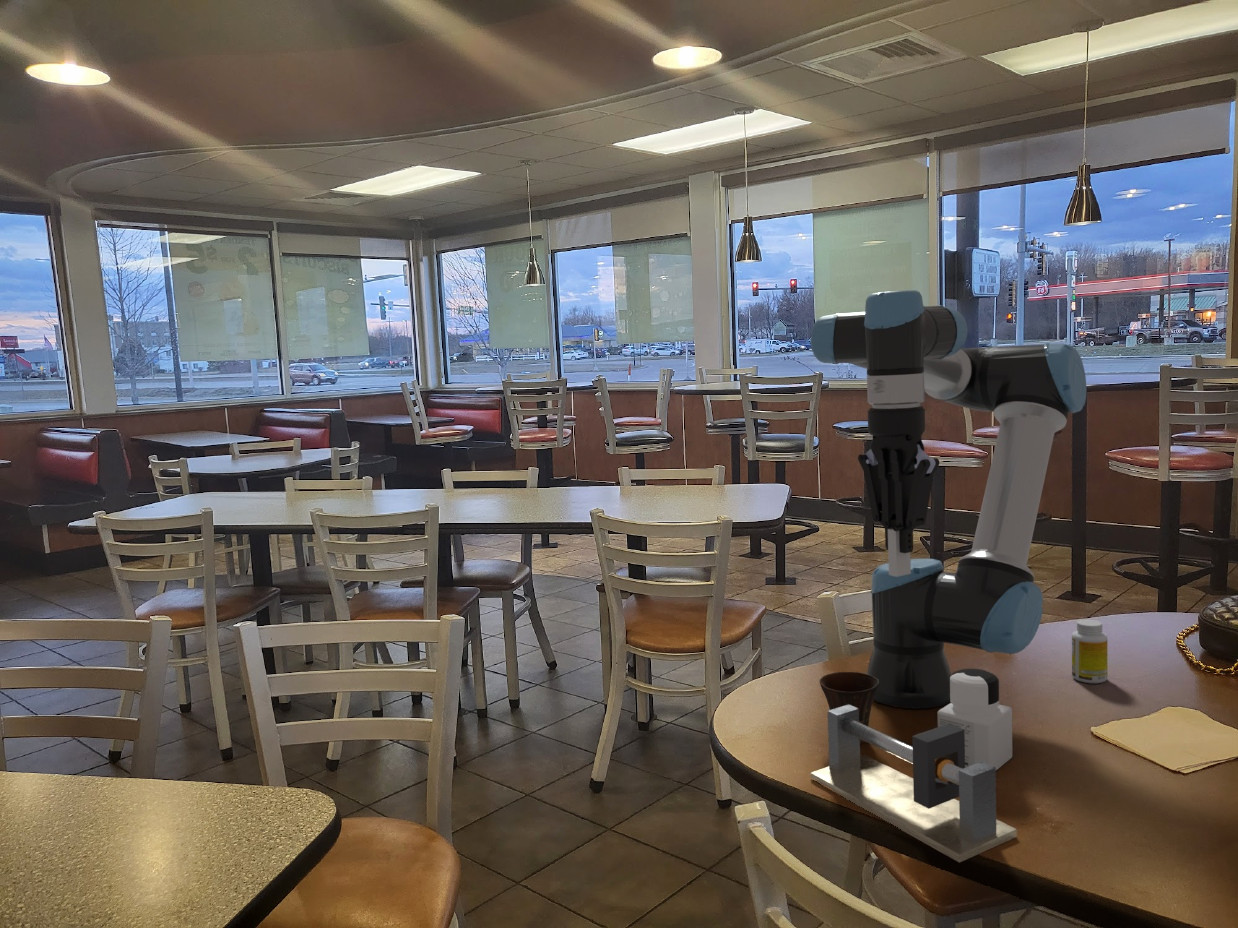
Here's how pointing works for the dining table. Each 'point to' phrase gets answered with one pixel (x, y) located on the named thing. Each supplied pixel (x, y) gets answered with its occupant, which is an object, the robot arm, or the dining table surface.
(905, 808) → the rail
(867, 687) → the cup
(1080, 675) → the supplement bottle
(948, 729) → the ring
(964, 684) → the container
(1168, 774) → the dining table surface
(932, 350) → the robot arm
